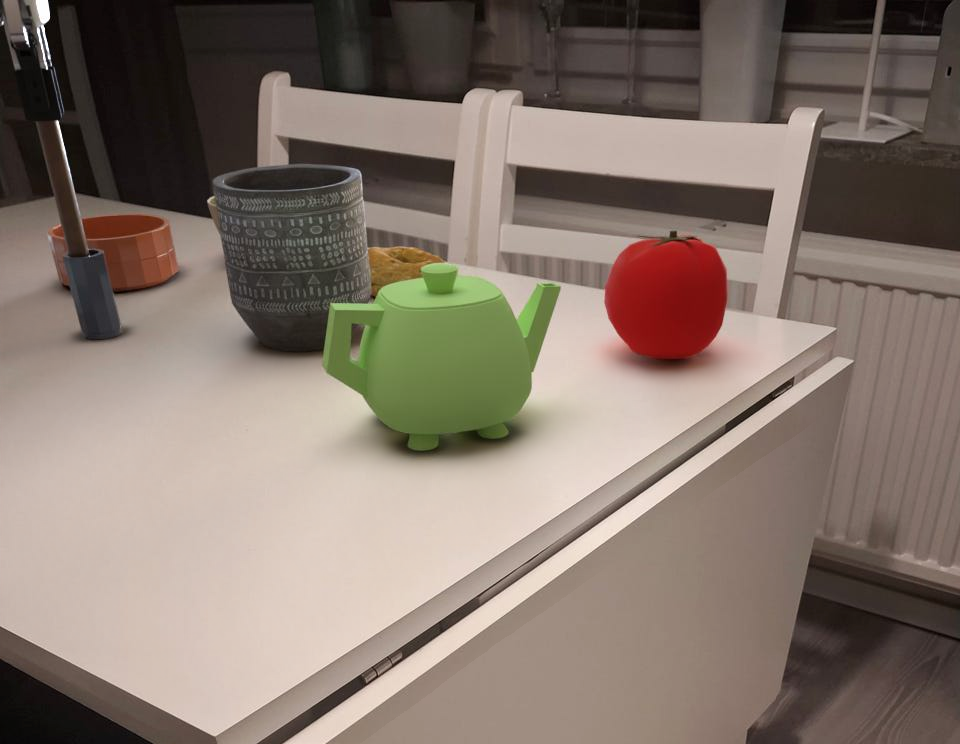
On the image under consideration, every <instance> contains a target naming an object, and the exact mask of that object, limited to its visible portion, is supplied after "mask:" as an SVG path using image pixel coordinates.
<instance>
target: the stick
mask: <svg viewBox="0 0 960 744" xmlns="http://www.w3.org/2000/svg"><path fill="white" fill-rule="evenodd" d="M59 123H60V122H59V121H37V122H35V124H36V128H37V133H38V136H39V137H38V138H39V140H40V145H41V148H42V153H43V157H44V160H45V165H46V169H47V173H48V176H49V181H50V186H51V189H52V193H53V197H54V201H55V204H56V205H55V206H56V210H57V214H58V217H59V221H60V223H61V226H62V230H63V234H64V238H65V242H66V246H67V250H68V254H69V256H70V257H85V256H90V254H89V250H88V246H87V242H86V237H85V233H84V229H83V225H82V220H81V218H82V217H81V212H80V209H79V204H78V199H77V195H76V192H75V186H74V182H73V179H72V174H71V169H70V165H69V162H68V161H69V160H68V157H67V152H66V148H65V145H64V140H63V135H62V131H61V127H60V124H59Z"/></svg>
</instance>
